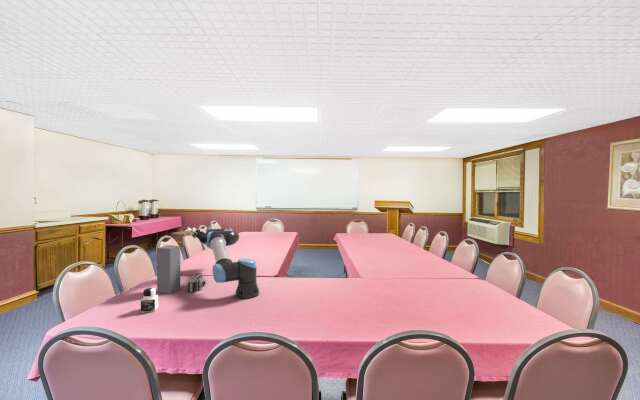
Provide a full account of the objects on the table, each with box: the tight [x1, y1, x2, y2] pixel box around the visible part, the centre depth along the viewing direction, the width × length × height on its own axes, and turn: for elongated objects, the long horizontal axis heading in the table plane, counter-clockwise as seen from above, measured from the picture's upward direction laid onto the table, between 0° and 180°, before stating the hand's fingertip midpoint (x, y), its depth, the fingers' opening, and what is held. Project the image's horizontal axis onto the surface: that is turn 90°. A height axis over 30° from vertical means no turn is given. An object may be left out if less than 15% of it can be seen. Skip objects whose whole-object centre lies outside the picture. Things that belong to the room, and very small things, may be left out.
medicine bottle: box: [140, 287, 159, 314], centre depth 163 cm, size 7×7×12 cm
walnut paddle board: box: [170, 230, 195, 238], centre depth 213 cm, size 21×11×2 cm, turn 169°
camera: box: [187, 272, 206, 294], centre depth 198 cm, size 14×8×10 cm, turn 2°
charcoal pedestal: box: [156, 244, 181, 295], centre depth 194 cm, size 10×10×30 cm
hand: (190, 228), depth 217 cm, fingers closed on walnut paddle board, 3 cm apart
